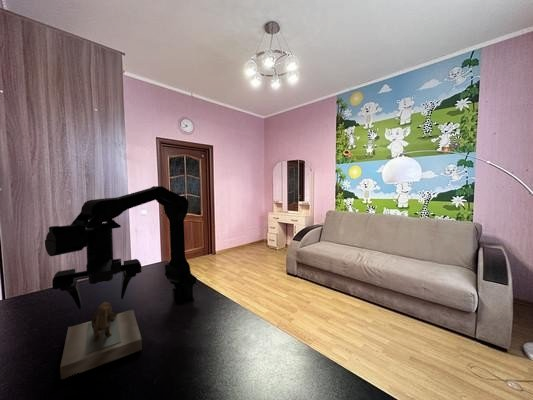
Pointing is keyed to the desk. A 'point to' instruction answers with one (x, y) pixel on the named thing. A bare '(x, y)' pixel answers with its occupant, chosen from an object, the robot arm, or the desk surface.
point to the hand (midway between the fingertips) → (101, 303)
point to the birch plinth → (99, 344)
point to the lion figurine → (103, 320)
